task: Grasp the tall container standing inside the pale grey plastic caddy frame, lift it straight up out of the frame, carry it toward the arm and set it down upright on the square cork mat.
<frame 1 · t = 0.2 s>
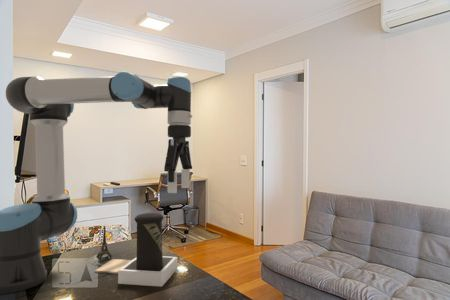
hand: (179, 190, 96), 27 cm above the table, fingers open, 13 cm apart
eiffel tower figurine: (103, 259, 113), on the table
caddy frame: (149, 275, 95), on the table
container: (149, 276, 95), resting in caddy frame
cork mat: (118, 267, 103), on the table
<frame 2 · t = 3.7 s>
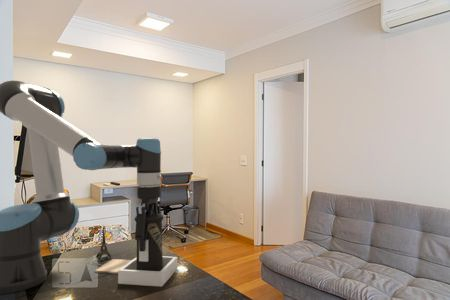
hand: (149, 256, 95), 6 cm above the table, fingers closed on container, 8 cm apart
container: (149, 276, 95), resting in caddy frame, touching gripper
everything else where it was.
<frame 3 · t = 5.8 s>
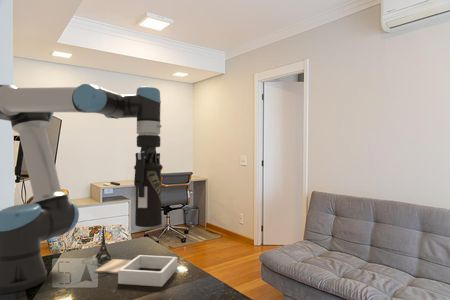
hand: (148, 205, 96), 23 cm above the table, fingers closed on container, 8 cm apart
container: (148, 225, 96), point 16 cm above the table, touching gripper
everything else where it was.
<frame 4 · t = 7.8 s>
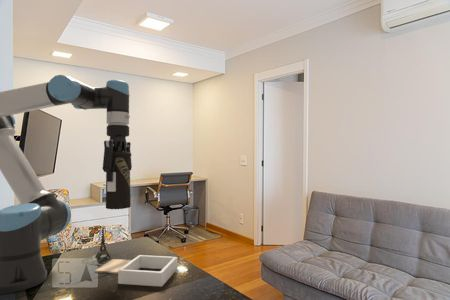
hand: (118, 189, 104), 27 cm above the table, fingers closed on container, 8 cm apart
container: (118, 208, 103), point 20 cm above the table, touching gripper
everything else where it was.
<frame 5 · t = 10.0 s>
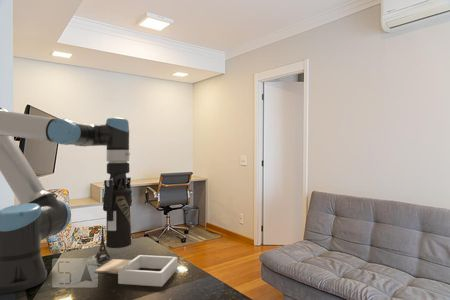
hand: (118, 227, 103), 14 cm above the table, fingers closed on container, 8 cm apart
container: (118, 245, 103), point 7 cm above the table, touching gripper
everything else where it was.
when the fingers open (8 cm above the table, at t = 12.1 s): container drops 1 cm, resting on cork mat.
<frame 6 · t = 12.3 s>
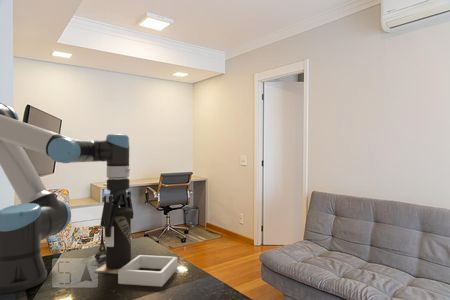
hand: (118, 241, 103), 9 cm above the table, fingers open, 10 cm apart
container: (118, 265, 103), resting on cork mat
everything else where it was.
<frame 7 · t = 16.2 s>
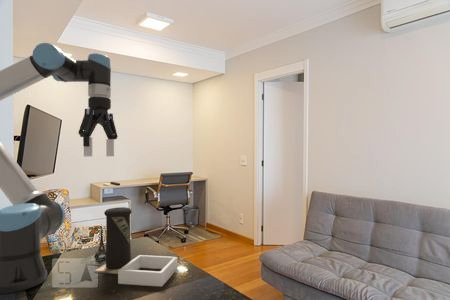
hand: (99, 156, 107), 39 cm above the table, fingers open, 13 cm apart
nothing on the table moved.
at the end: container inside the target area on the cork mat (0.1 cm from its centre), point 0.4 cm above the cork mat's base; container tilted 0°; the gripper is holding nothing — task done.
